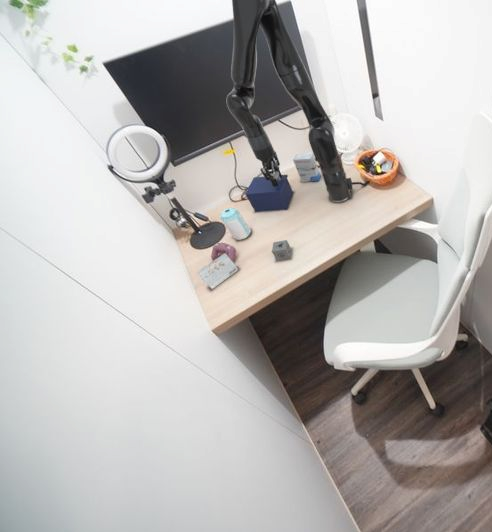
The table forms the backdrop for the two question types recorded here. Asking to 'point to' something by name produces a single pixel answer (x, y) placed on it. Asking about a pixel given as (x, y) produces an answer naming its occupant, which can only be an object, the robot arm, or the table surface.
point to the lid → (266, 185)
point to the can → (235, 223)
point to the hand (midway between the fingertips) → (277, 181)
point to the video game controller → (223, 251)
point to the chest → (272, 200)
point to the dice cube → (281, 250)
